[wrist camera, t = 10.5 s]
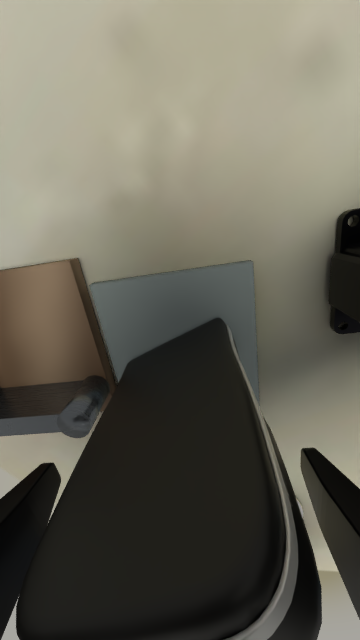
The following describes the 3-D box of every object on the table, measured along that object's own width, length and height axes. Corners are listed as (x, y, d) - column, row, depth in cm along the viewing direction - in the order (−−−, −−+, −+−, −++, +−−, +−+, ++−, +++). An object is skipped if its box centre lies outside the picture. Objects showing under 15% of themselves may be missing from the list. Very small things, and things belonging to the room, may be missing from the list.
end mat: (250, 260, 13) (253, 261, 13) (258, 417, 17) (260, 424, 17) (93, 282, 14) (89, 285, 14) (134, 426, 18) (132, 433, 18)
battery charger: (155, 404, 16) (83, 731, 6) (123, 361, 15) (-37, 670, 5) (251, 362, 15) (391, 713, 4) (223, 310, 14) (317, 615, 3)
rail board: (77, 258, 14) (69, 260, 13) (120, 400, 17) (116, 410, 16) (-90, 284, 15) (-109, 288, 14) (-18, 411, 19) (-29, 421, 18)
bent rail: (73, 269, 13) (37, 284, 10) (113, 397, 16) (94, 436, 13) (-73, 292, 14) (-145, 310, 11) (-10, 407, 17) (-53, 446, 14)
